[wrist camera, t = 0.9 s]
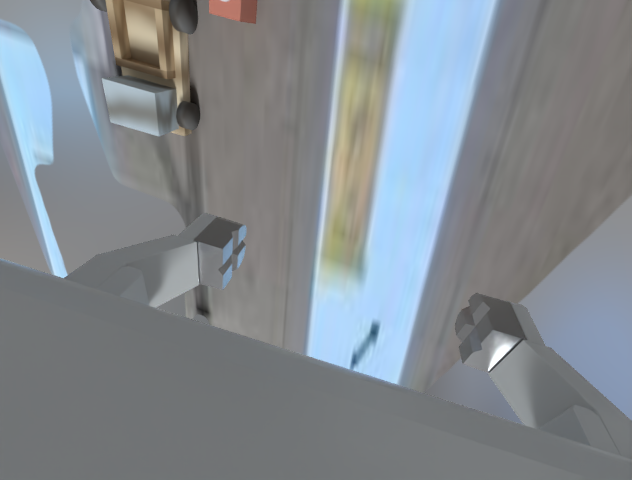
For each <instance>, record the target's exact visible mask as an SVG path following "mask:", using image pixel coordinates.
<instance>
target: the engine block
mask: <svg viewBox="0 0 632 480" xmlns="http://www.w3.org/2000/svg"><path fill="white" fill-rule="evenodd" d="M256 11H257V0H209V13H210V14H214V15H218V16H222V17H225V18H229V19H233V20H237V21H241V22H247V23H254V24H256Z"/></svg>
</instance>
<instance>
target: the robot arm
mask: <svg viewBox="0 0 632 480" xmlns="http://www.w3.org/2000/svg"><path fill="white" fill-rule="evenodd" d="M245 236H246V226H245V225H243V224H240V223H237V222H234V221H231V220H227V219H224V218H221V217H217V216H214V215H211V214H208V213H203V214H201V215H200V216H199V217H198V218H197V219H196V220H195V221H194V222H192V223H191V224H190V225H189V226H188V227H187V228H186V229H185V230H183V231H182V232H181V233H180V234H179V235H178V236H176V235H171V236H167V237H163V238H159V239H155V240H152V241H148V242H144V243H140V244H137V245H132V246H129V247H125V248H121V249H117V250H114V251H110V252H106V253H102V254H98V255H96V256H94V257H93V258H92V259H90V260H89V261H87V262H86V263H85V264H83V265H82V266H80V267H79V268H78V269H76V270H75V271H73V272H72V273H70V274H69V275H68V276H66V277H65V278H61V277H57V276H54V275H51V274H48V273H45V272H41V271H38V270H35V269H32V268H29V267H26V266H23V265H20V264H17V263H13V262H10V261H7V260H4V259H1V258H0V480H632V421H631V420H630V419H629V418H628V417H627V416H626V415H625V414H624V413H622V412H621V411H620V410H619V409H618V408H617V407H616V406H615V405H614V404H613V403H611V402H610V401H609V400H608V399H607V398H606V397H604V395H603V394H601V393H600V392H599V391H598V390H597V389H596V388H595V387H593V386H592V385H591V384H590V383H589V382H588V381H587V380H586V379H585V378H584V377H583V376H582V375H580V374H579V373H578V372H577V371H576V370H575V369H574V368H573V367H572V366H570V365H569V364H568V363H567V362H566V361H565V360H564V359H563V358H561V356H559V355H558V354H557V353H556V352H555V351H554V350H553V349H552V348H550V347H547V346H545V344H544V342H543V340H542V338H541V336H540V334H539V332H538V330H537V328H536V326H535V324H534V322H533V320H532V318H531V316H530V314H529V312H528V310H527V308H526V307H524V306H523V305H520V304H516V303H512V302H509V301H503V300H500V299H496V298H493V297H489V296H486V295H482V294H479V293H475V294H474V295H472V296H471V298H470V299H469V300H468V301H469V305H470V306H469V307H466V308H464V309H462V310H461V311H460V313H459V314H458V316H457V319H456V323H455V330H456V336H457V337H458V338H459V339H460V340H461V342H462V343H461V345H460V346H459V350H460V354H461V359H462V363H463V364H464V365H467V366H470V367H473V368H476V369H479V370H482V371H485V372H488V373H489V376H490V377H491V379H492V380H493V381H494V383H495V384H496V386H497V387H498V389H499V390H500V391H501V393H502V394H503V395H504V397H505V399H506V400H507V401H508V403H509V404H510V406H511V407H512V409H513V410H514V412H515V413H516V414H517V416H518V417H519V419H520V420H521V422H522V423H523V424H524V425H522V424H519V423H516V422H513V421H510V420H507V419H503V418H500V417H497V416H494V415H491V414H488V413H485V412H481V411H478V410H475V409H472V408H468V407H465V406H463V405H459V404H456V403H453V402H450V401H446V400H444V399H441V398H438V397H434V396H431V395H428V394H425V393H422V392H419V391H416V390H413V389H409V388H406V387H403V386H400V385H397V384H394V383H391V382H387V381H384V380H381V379H378V378H375V377H372V376H369V375H365V374H362V373H359V372H356V371H353V370H350V369H347V368H343V367H340V366H337V365H334V364H331V363H328V362H325V361H321V360H318V359H315V358H312V357H309V356H306V355H303V354H299V353H296V352H293V351H290V350H287V349H284V348H281V347H277V346H274V345H271V344H268V343H265V342H262V341H259V340H255V339H252V338H249V337H246V336H243V335H240V334H237V333H233V332H230V331H227V330H224V329H221V328H218V327H215V326H211V325H208V324H205V323H202V322H199V321H196V320H193V319H189V318H186V317H183V316H180V315H177V314H173V313H170V312H167V311H164V310H161V309H158V308H156V307H157V306H159V305H161V304H163V303H165V302H167V301H169V300H171V299H173V298H175V297H177V296H178V295H180V294H182V293H184V292H186V291H188V290H190V289H192V288H194V287H196V286H198V285H199V283H200V284H203V285H207V286H210V287H214V288H217V289H221V290H223V289H224V287H225V286H226V285H227V283H228V282H229V280H230V279H231V277H232V271H234V270H236V269H238V267H239V266H240V264H241V262H242V259H243V257H244V253H245V243H244V242H243V239H244V237H245Z"/></svg>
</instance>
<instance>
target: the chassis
mask: <svg viewBox="0 0 632 480" xmlns="http://www.w3.org/2000/svg"><path fill="white" fill-rule="evenodd" d="M90 1H91V3H92V4H93V5H94V6H95V7H96V8H97V9H99V10H102V11H105V12H108V18H109V24H110V30H111V36H112V42H113V48H114V54H115V60H116V65H118V66H121V69H122V75H123V76H118V77H109V78H102V81H103V87H104V92H105V97H106V102H107V107H108V112H109V117H110V122H112V123H115V124H119V125H122V126H125V127H129V128H132V129H136V130H139V131H142V132H146V133H149V134H153V135H156V136H162V135H164V134H167V133H169V132H172V133H175V134H179V135H182V136H187V135H189V134H191V133H192V130H194V129H196V127H197V126H198V124H199V120H200V111H199V108H198V106H197V105H196V104H194V103H190V79H189V54H188V34H193V33H194V32H195V30H196V27H197V22H198V15H197V9H196V6H195V3H194V1H193V0H90Z"/></svg>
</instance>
